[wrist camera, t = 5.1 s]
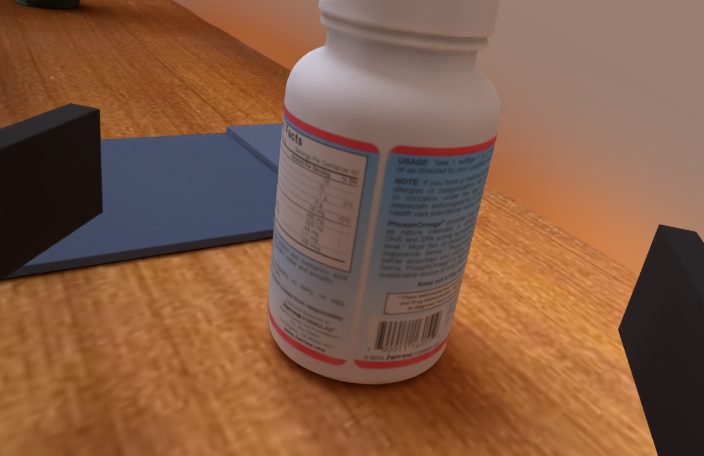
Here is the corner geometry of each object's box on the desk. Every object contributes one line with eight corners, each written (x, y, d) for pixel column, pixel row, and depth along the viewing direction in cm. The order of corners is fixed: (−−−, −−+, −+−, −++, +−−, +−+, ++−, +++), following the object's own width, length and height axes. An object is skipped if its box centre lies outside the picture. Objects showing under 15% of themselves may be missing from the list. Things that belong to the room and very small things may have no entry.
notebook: (-47, 155, 29) (-49, 138, 29) (321, 133, 40) (322, 121, 40) (-15, 282, 21) (-18, 261, 20) (443, 211, 32) (446, 196, 31)
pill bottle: (435, 296, 24) (507, -18, 19) (454, 406, 18) (562, 3, 14) (276, 274, 24) (309, -49, 19) (247, 379, 18) (283, -39, 13)
